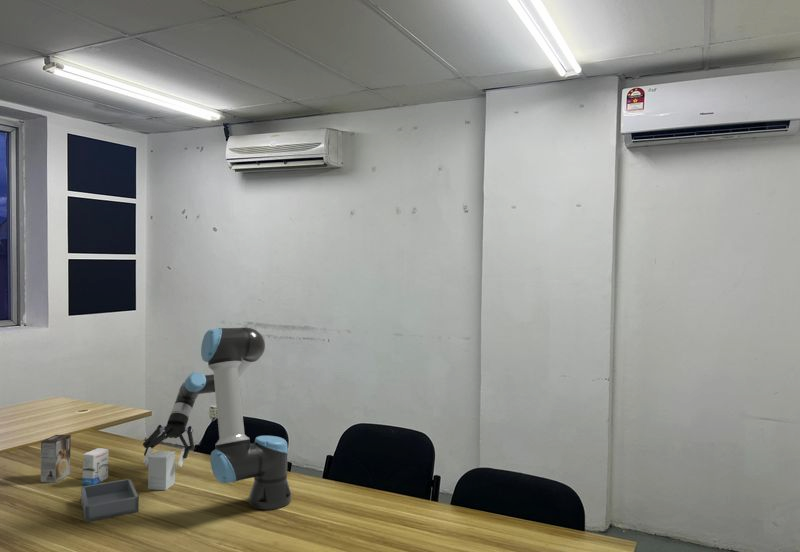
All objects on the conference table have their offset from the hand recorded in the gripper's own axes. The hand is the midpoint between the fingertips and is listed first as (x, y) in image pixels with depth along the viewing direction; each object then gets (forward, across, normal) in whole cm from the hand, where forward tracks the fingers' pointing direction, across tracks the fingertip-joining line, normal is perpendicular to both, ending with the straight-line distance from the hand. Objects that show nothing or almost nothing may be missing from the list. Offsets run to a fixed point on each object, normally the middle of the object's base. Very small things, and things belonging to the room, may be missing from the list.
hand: (162, 465), depth 215 cm
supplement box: (+7, -1, -5) cm, 8 cm away
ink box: (+5, +27, -7) cm, 28 cm away
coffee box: (+4, +44, -8) cm, 45 cm away
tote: (+20, +9, +9) cm, 24 cm away
